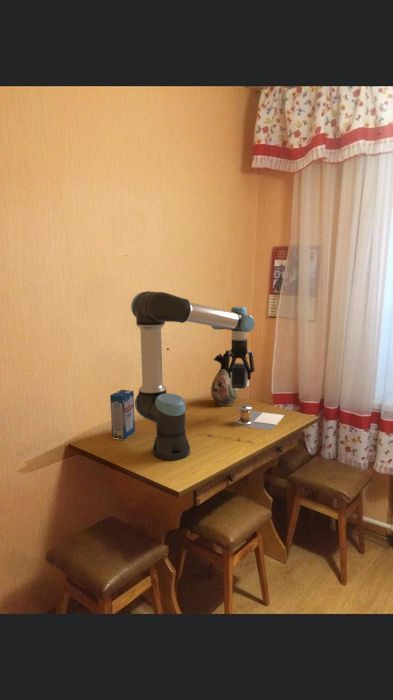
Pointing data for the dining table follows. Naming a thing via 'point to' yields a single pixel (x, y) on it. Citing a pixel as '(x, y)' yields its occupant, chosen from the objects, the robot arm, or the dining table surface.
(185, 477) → the dining table surface
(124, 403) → the milk carton
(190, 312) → the robot arm
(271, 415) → the board
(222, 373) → the ceramic jug
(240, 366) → the small box
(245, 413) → the bobbin
